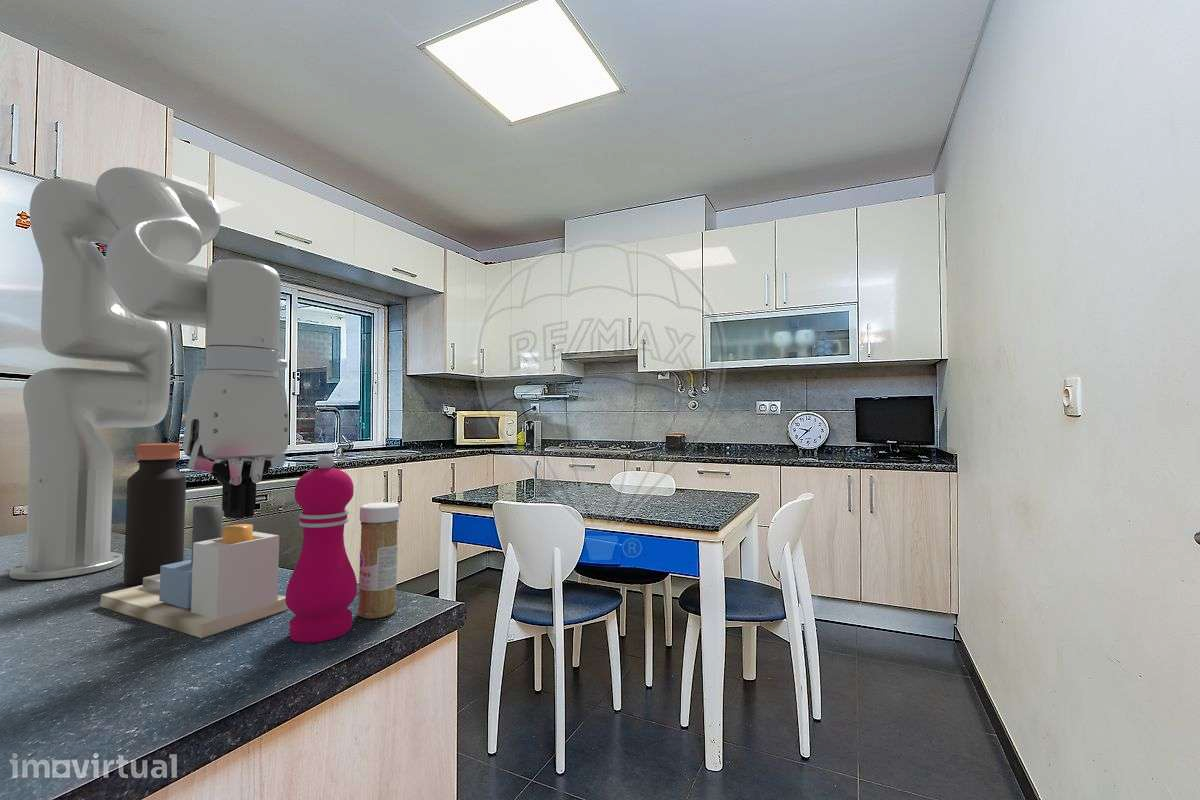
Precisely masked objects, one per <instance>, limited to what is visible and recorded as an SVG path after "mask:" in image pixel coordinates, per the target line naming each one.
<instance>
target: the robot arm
mask: <svg viewBox="0 0 1200 800" xmlns="http://www.w3.org/2000/svg"><path fill="white" fill-rule="evenodd" d="M28 213H29V224H30V229H31V232H32V235H33V239H34V242H35V245H36V247H37V250H38V253H39V256H40V260H41V264H42V274H43V275H42V289H41V290H42V291H41V313H40V316H41V317H40V337H41V342H42V345H43V347H44V350H46V351H47V352H48V353H50V354H51V355H54V356H56V357H57V356H58V357H60V358H67V359H73V360H80V361H82V360H84V361H95V362H108V363H120V364H125V365H127V368H128V370H125V371H124V370H111V369H97V368H87V367H86V368H84V367H64V366H63V367H52V368H45V369H42V370H39V371H37V372H35V373H32V375H31V376H29V378H27V380H26V381H25V383H24V385H23V390H22V391H23V392H22V398H23V405H24V406H23V407H24V410H25V411H24V412H25V417H26V422H27V428H28V438H29V443H28V444H29V458H28V460H29V461H28V462H29V463H28V464H29V465H28V471H29V472H28V491H27V514H26V516H27V518H26V537H25V539H26V540H25V558H24V559H25V561H24V562H23V563H20V564H17V565H14V566H13V567H11V568H10V569H9V574H8V575H9V578H11V579H13V580H19V581H21V580H22V581H37V580H38V581H39V580H40V581H41V580H52V579H59V578H69V577H75V576H81V575H86V574H91V573H95V572H100V571H104V570H108V569H110V568H113V567H116V566H119V565H120V564H121V563H122V562H124V561H123V560H124V559H123V557H124V556H123V554H122V553H119V552H114V551H111V542H112V540H111V539H112V537H111V536H112V518H113V517H112V514H113V513H112V512H113V490H114V487H113V486H114V485H113V484H114V482H113V481H114V454H113V452H112V450H111V448H110V447H109V445H108V444H107V442H105V441H104V439H103V438H102V437H101V436H100V435H99V434H98V433H97V432H96V431H95V429H107V428H108V429H110V428H111V429H112V428H114V429H115V428H124V429H126V428H149V427H153V426H156V425H158V424H160V423H161V422H162V421H163V420H164V419H165V417H166V415H167V413H168V409H169V403H170V391H171V390H170V389H171V388H170V387H171V368H172V367H171V363H172V334H171V330H170V328H169V324H177V325H182V326H183V325H184V326H191V327H197V328H203V329H205V341H204V342H205V344H204V345H205V349H204V372H203V373H196V374H195V376H194V380H193V383H192V387H191V390H190V394H189V399H188V402H187V408H186V414H185V415H186V416H185V422H184V423H185V424H184V430H183V453H184V454H185V455H186V456H187V457H189V460H188V462H187V468H188V469H189V470H191V471H198V472H205V473H209V474H210V476H213V478H215V479H216V481H217V483H218V484H221V485H222V491H221V492H222V493H221V494H222V497H221V499H222V501H221V504H222V510H223V516H224V517H225V518H228V519H236V520H239V519H244V518H253V517H254V515H255V508H256V504H257V501H256V499H257V484H258V483H260V482H261V481H262V477H263V476H264V475H265V474H266V473H267V471H268V470H269V469H270V468H275V467H277V466H280V465H283V464H285V463H286V461H287V460H286V454H285V453H286V452H287V450H288V447H289V443H290V442H289V441H290V420H289V405H288V404H289V403H288V396H287V392H286V387H285V382H284V378H283V377H280V375H279V374H280V371H282V370H283V371H284V370H286V369H287V368H288V361H287V360H286V359H281V353H280V333H281V332H280V331H281V329H280V328H281V301H282V300H281V299H282V298H281V296H282V280H281V277H280V274H279V273H278V272H277V271H276V270H275V269H274V268H273V267H271V266H269V265H266V264H265V263H264V264H263V263H261V262H256V261H252V260H246V259H237V258H235V259H233V258H232V259H231V258H229V259H228V258H227V259H226V258H225V259H220V260H216V261H214V262H212V263H211V264H210V266H209V267H205V266H199V265H194V264H190V262H192V261H193V260H194V259H196V257H198V255H199V254H200V252H201V251H202V247H203V246H205V245H207V244H210V242H212V241H213V240H214V239H215V238H216V237H217V235H218V232H219V230H220V227H221V213H220V209H219V207H218V204H217V203H216V201H215V200H214V199H213V198H212V197H211V195H209V194H208V193H206V192H205V191H203V190H201V189H199V188H197V187H194V186H191V185H188V184H185V183H182V182H179V181H177V180H173V179H171V178H168V177H165V176H162V175H159V174H156V173H153V172H150V171H147V170H143V169H140V168H136V167H128V166H119V167H118V166H116V167H113V168H109V169H108V170H106V171H104V172H102V173H101V174H100V175H99V176H98V178H97V180H96V182H95V185H94V184H92V183H88V182H83V181H79V180H75V179H68V178H61V177H60V178H59V177H58V178H56V177H55V178H47V179H45V180H42V181H40V182H39V183H38V184H37V185H36V186H35V187H34V189H33V192H32V194H31V198H30V202H29V212H28ZM92 242H94V243H99V244H103V245H106V246H107V247H106V251H105V255H103V254H102V252H101V251H100V250H99V249H98V248H97V247H96V246H95V245H94V244H92ZM117 297H118V298H119V299H120V302H121V303H122V305H120V304H119V303H118V301H117V300H118V299H117ZM168 323H169V324H168ZM210 459H212V460H214V461H211V460H210Z"/></svg>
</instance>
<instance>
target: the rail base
mask: <svg viewBox="0 0 1200 800" xmlns="http://www.w3.org/2000/svg"><path fill="white" fill-rule="evenodd" d="M159 595H160V574H158V575H153V576H148V577H144V578H143V585H140V586H130V587H128V588H124V589H119V590H114V591H110V592H105V593H102V594H100V608H104V609H108V610H111V611H113V612H116V613H121V614H123V615H127V616H130V617H132V618H136V619H139V620H143V621H145V622H149V623H152V624H155V625H159V626H162V627H164V628H167V629H168V628H169V629H172V630H174V631H177V632H181V633H182V634H183V633H184V634H187V635H190V636H192V637H193V636H194V637H196V638H200V639H203V638H206V637H209V636H213V635H216V634H218V633H222V632H225V631H227V630H231V629H234V628H236V627H239V626H242V625H246V624H248V623H251V622H255V621H257V620H261V619H264V618H266V617H269V616H272V615H275V614H279V613H281V612H284V611H287V610H290V609H289V608H288V607H287V605H286V602H285V598H286V595H281V594H278V601H275V602H272V603H269V604H266V605H262V606H259V607H256V608H253V609H250V610H246V611H243V612H240V613H237V614H234V615H230V616H227V617H224V618H221V619H217V620H216V619H212V618H209V617H205V616H202V615H198V614H195V613H191V608H189V609H186V608H183V607H179V606H176V605H172V604H168V603H165V602H161V601H159Z"/></svg>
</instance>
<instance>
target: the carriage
mask: <svg viewBox="0 0 1200 800" xmlns="http://www.w3.org/2000/svg"><path fill="white" fill-rule="evenodd" d="M223 516H224V511H223V510H222V503H206V504H197V505H194V506H193V507H192V530H191V531H192V532H191V533H192V535H191V559H188V560H183V561H182V562H177V563H172V564H168V565H163V566H160V595H159V601H161V602H165V603H168V604H172V605H176V606H179V607H183V608H186V609H189V608H191V599H192V568H193V543H195V542H201V541H206V540H211V539H217V538H222V537H223Z"/></svg>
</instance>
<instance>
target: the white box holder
mask: <svg viewBox="0 0 1200 800" xmlns="http://www.w3.org/2000/svg"><path fill="white" fill-rule="evenodd" d="M222 540H223V536H222V538H217V539H211V540H206V541H201V542H195V543H193V568H192V599H191V613H195V614H198V615H202V616H205V617H209V618H212V619H216V620H217V619H221V618H224V617H227V616H230V615H234V614H237V613H240V612H243V611H246V610H250V609H253V608H256V607H259V606H262V605H266V604H269V603H272V602H275V601H278V595H279V594H278V593H279V560H280V558H279V557H280V535H279V534H273V533H266V532H259V531H253V540H250V541H245V542H240V543H234V544H226V543H222Z"/></svg>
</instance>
